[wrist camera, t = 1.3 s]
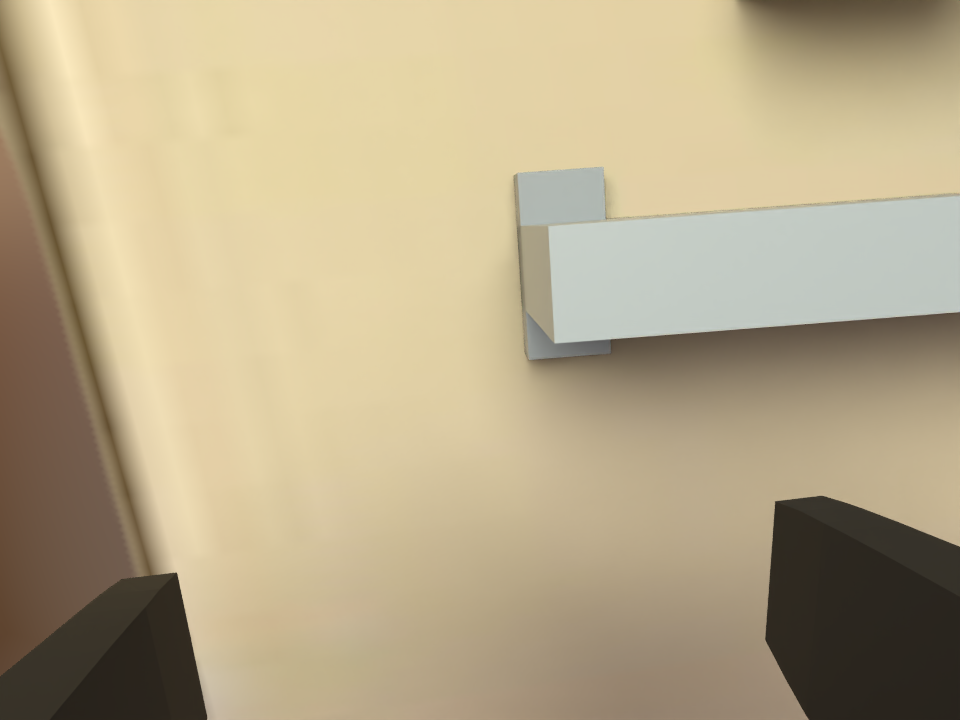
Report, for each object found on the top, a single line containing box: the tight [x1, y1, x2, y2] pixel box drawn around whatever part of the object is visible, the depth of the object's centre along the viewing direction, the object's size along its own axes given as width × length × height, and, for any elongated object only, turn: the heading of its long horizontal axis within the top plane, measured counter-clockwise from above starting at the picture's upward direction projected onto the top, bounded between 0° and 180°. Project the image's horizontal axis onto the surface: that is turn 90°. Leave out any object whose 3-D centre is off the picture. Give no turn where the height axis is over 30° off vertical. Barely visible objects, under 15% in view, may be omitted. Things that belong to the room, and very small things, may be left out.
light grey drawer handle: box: [514, 167, 960, 360], centre depth 16 cm, size 4×16×6 cm, turn 94°
